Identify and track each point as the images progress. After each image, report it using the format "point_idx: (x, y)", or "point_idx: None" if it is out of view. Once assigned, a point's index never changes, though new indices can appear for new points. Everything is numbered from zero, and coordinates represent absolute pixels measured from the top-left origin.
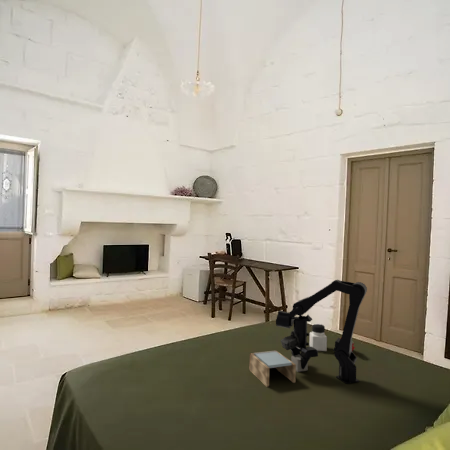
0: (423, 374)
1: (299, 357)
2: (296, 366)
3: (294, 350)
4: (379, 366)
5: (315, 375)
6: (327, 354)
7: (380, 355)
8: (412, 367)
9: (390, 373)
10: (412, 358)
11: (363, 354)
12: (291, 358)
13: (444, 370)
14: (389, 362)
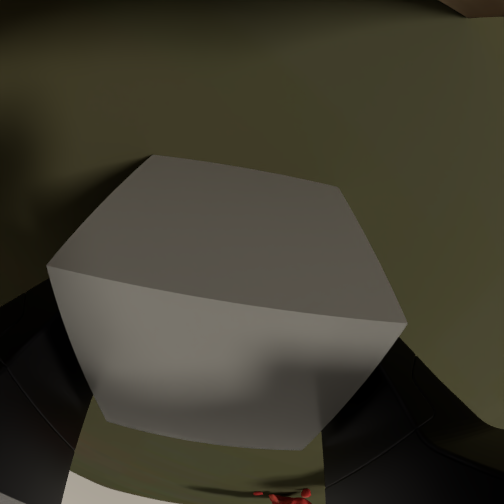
0: (76, 468)
1: (203, 396)
2: (155, 184)
3: (403, 485)
4: (132, 474)
5: (35, 274)
6: (316, 470)
7: (208, 500)
8: (116, 483)
9: (79, 456)
10: (166, 501)
11: (236, 496)
12: (379, 274)
13: (97, 483)
14: (156, 489)
